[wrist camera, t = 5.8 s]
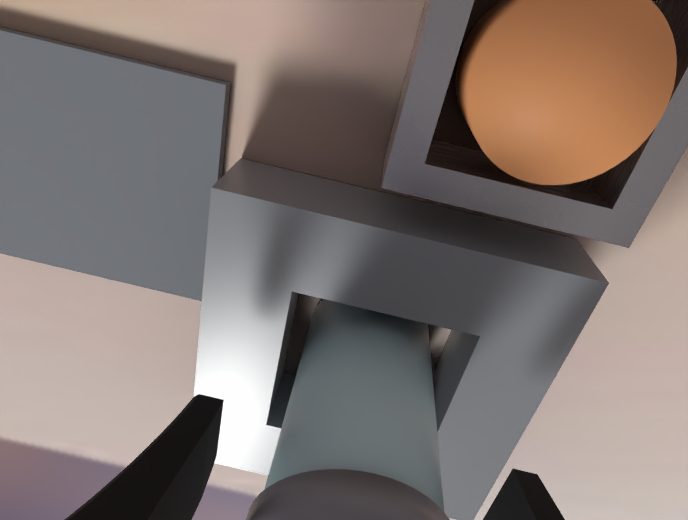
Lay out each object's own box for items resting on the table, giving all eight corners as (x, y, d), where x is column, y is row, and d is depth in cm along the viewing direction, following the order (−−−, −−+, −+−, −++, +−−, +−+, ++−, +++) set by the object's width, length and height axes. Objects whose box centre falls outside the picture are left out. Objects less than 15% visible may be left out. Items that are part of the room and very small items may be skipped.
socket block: (213, 403, 19) (188, 457, 17) (241, 158, 14) (211, 187, 12) (463, 462, 19) (471, 522, 17) (576, 239, 14) (608, 282, 12)
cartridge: (295, 365, 17) (225, 612, 10) (317, 262, 15) (248, 484, 8) (413, 393, 17) (423, 657, 10) (452, 294, 15) (495, 541, 8)
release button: (435, 133, 12) (443, 161, 10) (488, -36, 11) (510, -46, 8) (578, 168, 12) (616, 203, 10) (654, 6, 11) (720, 6, 8)
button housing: (384, 158, 13) (381, 188, 11) (452, -104, 11) (466, -131, 8) (591, 208, 14) (629, 248, 11) (716, -38, 11) (798, -48, 8)
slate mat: (7, 247, 16) (-1, 253, 16) (-26, 20, 13) (-38, 20, 12) (210, 295, 16) (206, 302, 16) (230, 82, 13) (225, 84, 13)
